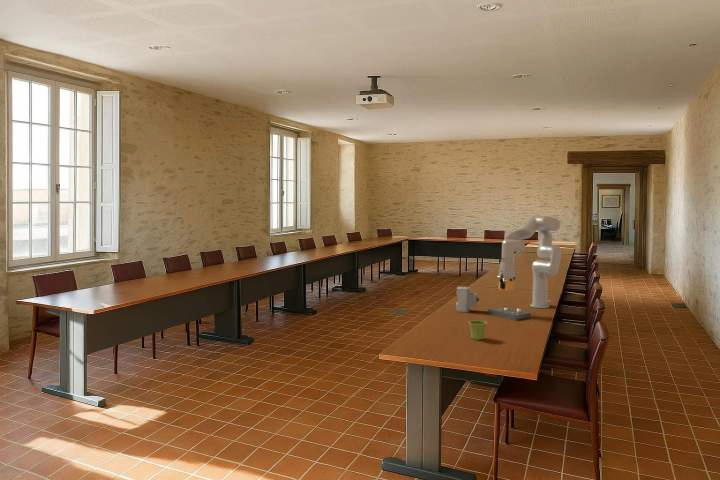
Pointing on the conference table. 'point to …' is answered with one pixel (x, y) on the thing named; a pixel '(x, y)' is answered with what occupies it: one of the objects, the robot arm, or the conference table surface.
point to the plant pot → (477, 329)
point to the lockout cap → (508, 285)
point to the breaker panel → (509, 313)
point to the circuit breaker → (465, 299)
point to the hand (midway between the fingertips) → (506, 288)
